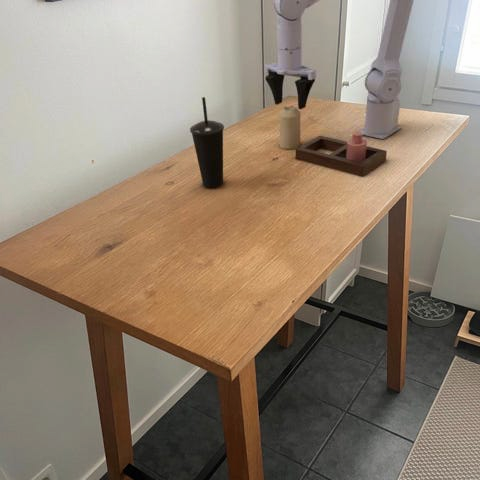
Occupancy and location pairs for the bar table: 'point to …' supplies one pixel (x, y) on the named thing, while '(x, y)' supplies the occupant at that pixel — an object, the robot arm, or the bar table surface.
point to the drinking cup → (209, 150)
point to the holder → (339, 156)
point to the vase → (356, 147)
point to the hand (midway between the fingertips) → (290, 105)
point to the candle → (289, 128)
